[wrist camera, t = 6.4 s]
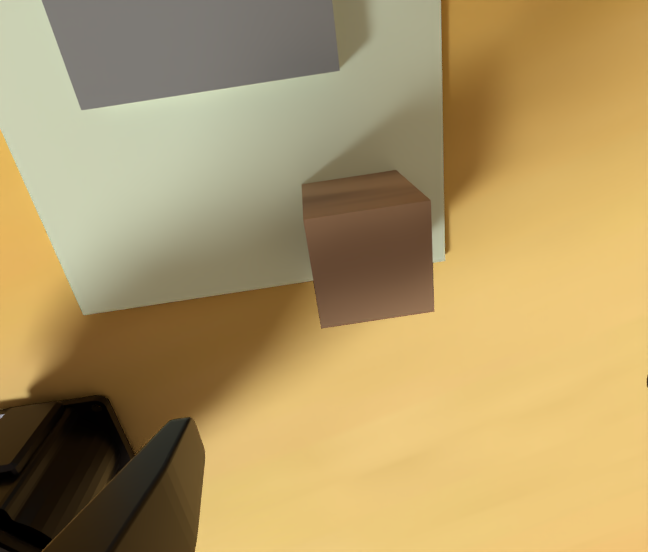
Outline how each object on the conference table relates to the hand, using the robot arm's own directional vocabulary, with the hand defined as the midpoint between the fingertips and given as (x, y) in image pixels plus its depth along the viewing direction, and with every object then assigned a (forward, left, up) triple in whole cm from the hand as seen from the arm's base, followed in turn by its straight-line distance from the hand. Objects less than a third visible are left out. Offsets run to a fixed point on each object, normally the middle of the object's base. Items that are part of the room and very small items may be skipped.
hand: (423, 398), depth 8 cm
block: (0, 0, -11) cm, 11 cm away
